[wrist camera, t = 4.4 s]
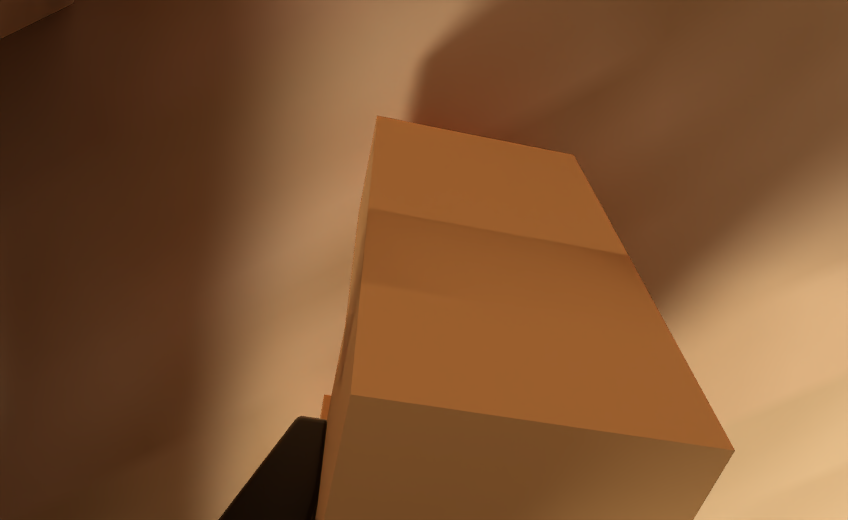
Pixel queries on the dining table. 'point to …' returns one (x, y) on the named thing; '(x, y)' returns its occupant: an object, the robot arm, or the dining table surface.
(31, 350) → the dining table surface
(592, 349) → the tall grooved wooden block
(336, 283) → the dining table surface
